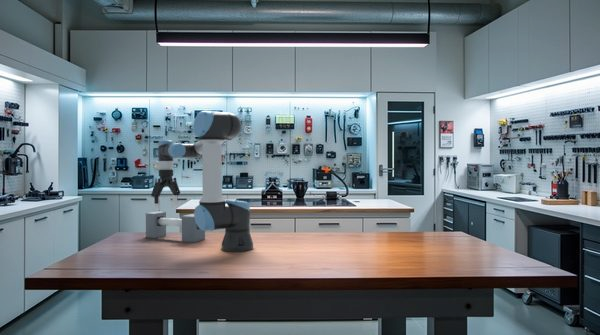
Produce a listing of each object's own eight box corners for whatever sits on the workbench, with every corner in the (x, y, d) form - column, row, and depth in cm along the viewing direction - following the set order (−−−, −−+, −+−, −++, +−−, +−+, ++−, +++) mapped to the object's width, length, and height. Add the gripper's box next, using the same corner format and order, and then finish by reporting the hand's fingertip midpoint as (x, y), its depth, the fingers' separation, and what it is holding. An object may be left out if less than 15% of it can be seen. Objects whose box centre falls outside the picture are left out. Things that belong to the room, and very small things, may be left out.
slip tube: (195, 227, 222) (195, 219, 222) (190, 228, 218) (190, 220, 218) (158, 224, 232) (158, 216, 232) (152, 225, 228) (152, 217, 228)
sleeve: (205, 239, 223) (205, 214, 222) (194, 242, 214) (194, 216, 214) (192, 237, 226) (192, 213, 225) (181, 240, 218) (181, 215, 217)
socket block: (166, 235, 233) (165, 211, 232) (154, 238, 225) (154, 213, 224) (157, 234, 235) (157, 211, 235) (145, 237, 227) (145, 213, 227)
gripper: (175, 168, 239) (176, 205, 239) (143, 169, 216) (144, 210, 216) (186, 168, 236) (186, 206, 236) (155, 169, 213) (155, 211, 213)
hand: (166, 208), depth 226 cm, fingers open, 13 cm apart
